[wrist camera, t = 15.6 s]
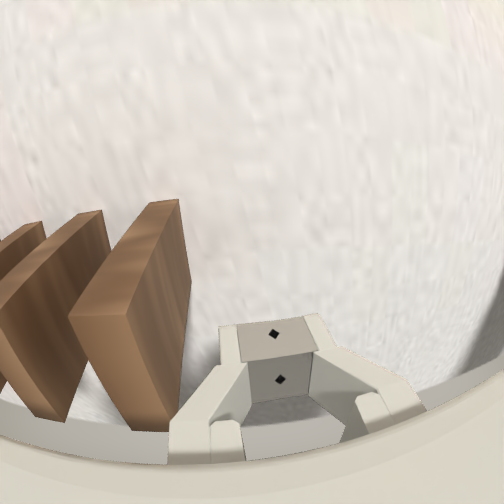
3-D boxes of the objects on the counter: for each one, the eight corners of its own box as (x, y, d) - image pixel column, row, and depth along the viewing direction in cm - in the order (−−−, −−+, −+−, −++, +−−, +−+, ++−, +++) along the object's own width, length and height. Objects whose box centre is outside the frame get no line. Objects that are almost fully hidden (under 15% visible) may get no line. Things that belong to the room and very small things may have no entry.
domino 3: (178, 198, 15) (125, 314, 6) (191, 281, 17) (176, 431, 8) (149, 202, 15) (67, 316, 6) (165, 283, 17) (132, 430, 8)
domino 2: (101, 209, 15) (-6, 315, 6) (121, 287, 17) (64, 422, 8) (78, 213, 14) (-33, 315, 5) (99, 289, 17) (35, 416, 8)
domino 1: (41, 220, 14) (-66, 313, 5) (63, 291, 16) (-6, 405, 7) (24, 224, 14) (-79, 312, 5) (46, 292, 16) (-24, 399, 7)
